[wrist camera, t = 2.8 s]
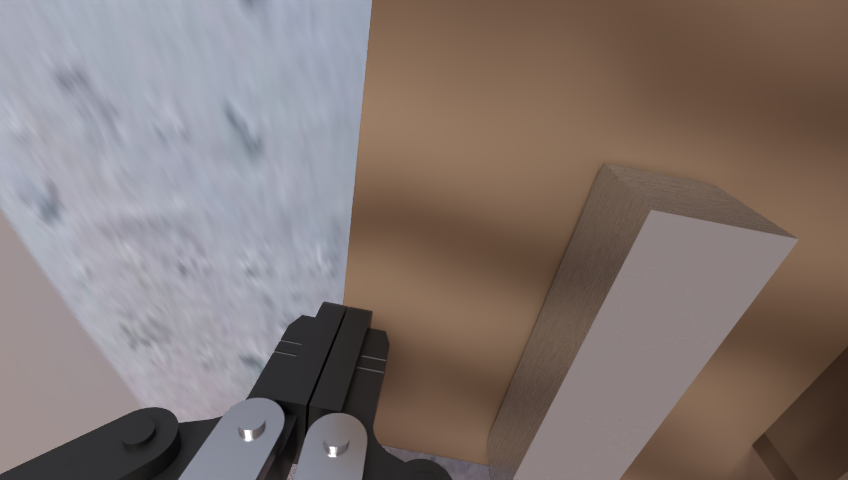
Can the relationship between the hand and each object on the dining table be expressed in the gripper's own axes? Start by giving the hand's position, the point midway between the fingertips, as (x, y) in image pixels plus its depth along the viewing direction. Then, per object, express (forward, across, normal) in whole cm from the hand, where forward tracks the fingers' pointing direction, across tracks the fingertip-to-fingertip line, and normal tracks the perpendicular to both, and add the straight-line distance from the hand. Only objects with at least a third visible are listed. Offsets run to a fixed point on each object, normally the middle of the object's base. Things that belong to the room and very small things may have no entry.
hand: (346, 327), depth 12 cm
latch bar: (+1, -7, 0) cm, 8 cm away
